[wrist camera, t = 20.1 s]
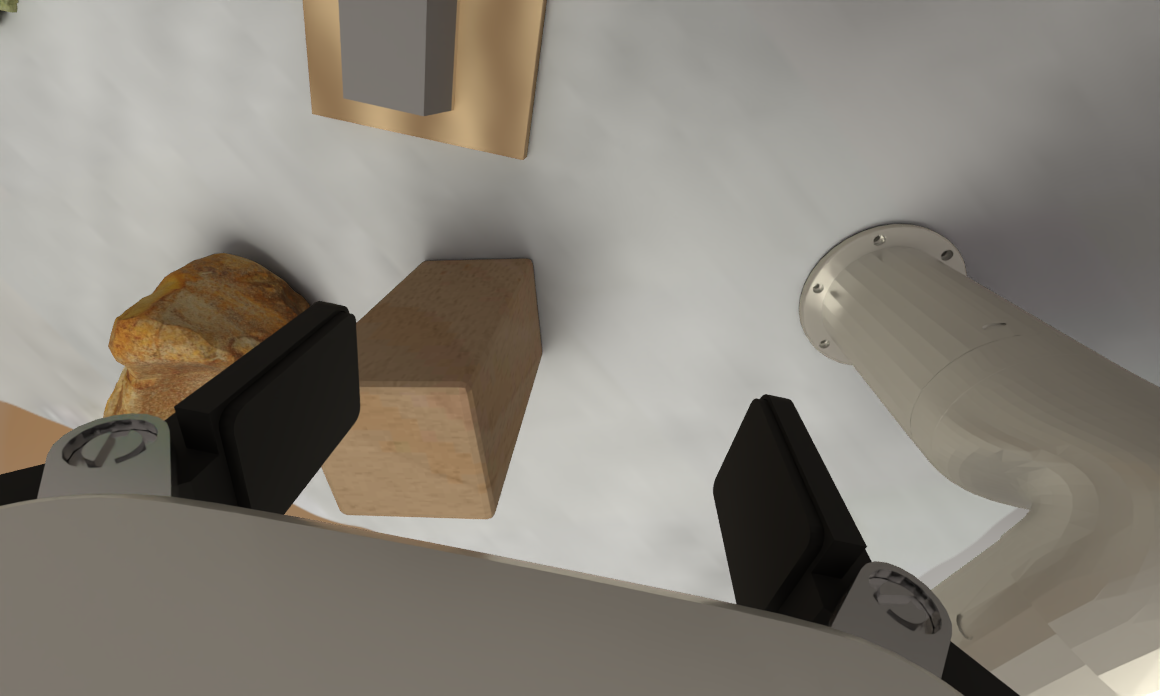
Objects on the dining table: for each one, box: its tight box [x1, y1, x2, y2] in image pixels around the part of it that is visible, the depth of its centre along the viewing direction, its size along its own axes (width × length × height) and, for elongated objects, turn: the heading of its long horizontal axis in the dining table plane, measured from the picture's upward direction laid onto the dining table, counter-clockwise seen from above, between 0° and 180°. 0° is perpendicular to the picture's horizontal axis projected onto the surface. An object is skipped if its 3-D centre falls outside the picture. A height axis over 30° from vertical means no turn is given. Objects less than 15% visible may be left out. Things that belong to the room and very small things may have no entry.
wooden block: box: [321, 259, 542, 519], centre depth 36 cm, size 10×10×20 cm
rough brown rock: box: [103, 253, 310, 420], centre depth 43 cm, size 23×17×15 cm
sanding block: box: [338, 0, 460, 116], centre depth 30 cm, size 5×8×6 cm, turn 169°
